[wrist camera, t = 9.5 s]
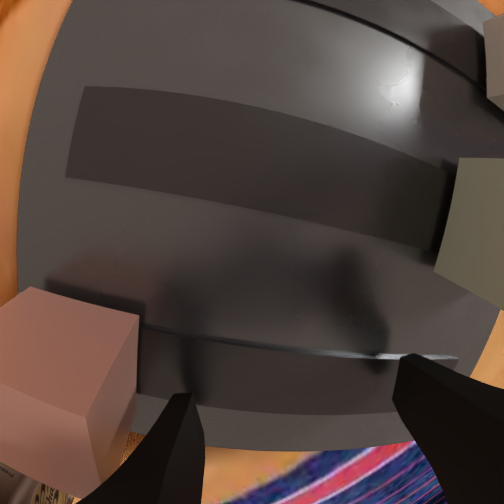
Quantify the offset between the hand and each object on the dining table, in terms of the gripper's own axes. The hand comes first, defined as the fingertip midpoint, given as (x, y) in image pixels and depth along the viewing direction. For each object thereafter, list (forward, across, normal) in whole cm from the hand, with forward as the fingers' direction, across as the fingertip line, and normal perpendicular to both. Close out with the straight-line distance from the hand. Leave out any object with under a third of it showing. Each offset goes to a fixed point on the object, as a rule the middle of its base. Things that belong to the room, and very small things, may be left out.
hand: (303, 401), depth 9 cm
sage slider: (+1, -7, -5) cm, 9 cm away
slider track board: (+2, -2, -7) cm, 7 cm away
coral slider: (+1, +7, -2) cm, 7 cm away
